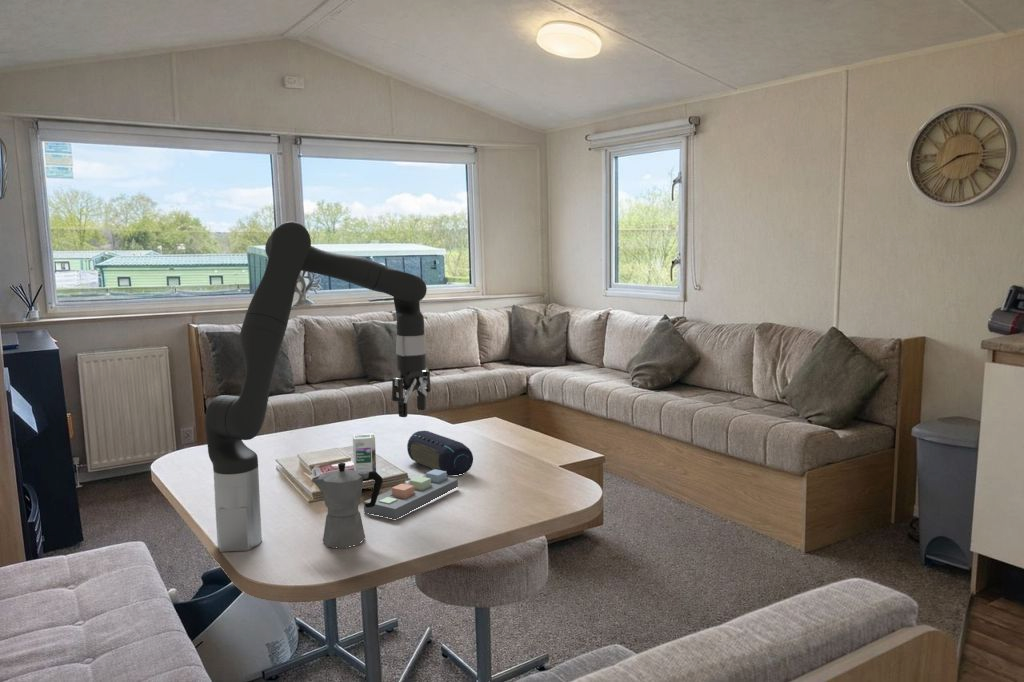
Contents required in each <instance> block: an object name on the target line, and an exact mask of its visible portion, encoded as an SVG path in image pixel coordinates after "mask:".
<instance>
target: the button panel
mask: <svg viewBox="0 0 1024 682" xmlns="http://www.w3.org/2000/svg"><path fill="white" fill-rule="evenodd" d="M421 477H426V474H424V475H421ZM405 484H407V485H409V481H408V482H406V483H405ZM456 487H458V488H459V479H457V478H452V477H448V476H447V480H444V481H442V482H440V483H434V482H431V487H429V488H427V489H425V490H423V491H420V490H415V489H414V495H412V496H410V497H407V498H405V499H402V498H398V497H394V496H392V489H390V490H388V491H385V492H383V493H379V494H378V497H377V500H376V503H375V506H374V507H369V508H367V507H366V506H365V504H367V503H370V502H371V498H369V499H366V500H364V501H363V513H364V512H365V513H369V514H374V515H379V516H383V517H388V518H392V519H397V518H399V517H401V516H403V515H405V514H407V513H409V512H410V511H412V510H414V509H416V508H418V507H420V506H422V505H424V504H426V503H428V502H430V501H431V500H433V499H435V498H437V497H439V496H441V495H443V494H445V493H447V492H448V491H450V490H452V489H454V488H456ZM365 513H364V514H365ZM369 514H368V515H369Z"/></svg>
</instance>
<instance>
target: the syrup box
mask: <svg viewBox="0 0 1024 682" xmlns="http://www.w3.org/2000/svg"><path fill="white" fill-rule="evenodd" d="M352 448H353V449H352V451H353V470H354V471H359V472H371V471H376V472H377V458H376V457H377V455H376V437H375V434H374V432H372V433H360V434H352ZM372 480H373V479H372ZM368 481H369V480H368Z"/></svg>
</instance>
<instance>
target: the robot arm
mask: <svg viewBox="0 0 1024 682" xmlns="http://www.w3.org/2000/svg"><path fill="white" fill-rule="evenodd" d="M311 239H312V238H311V235H310V232H309V231H308V229H307V228H306V226H304V225H303V224H301V223H300V222H298V221H285V222H283V223H280V224H279V225H277V226H276V227H275V228H274V229H273V231H271V234H270V235H269V237H268V238H267V240H266V243H265V250H264V251H265V253H266V256H267V258H268V259H267V263H266V266H265V271H264V272H263V275H262V278H261V280H260V282H259V284H258V286H257V287H256V290H255V292H254V294H253V295H252V298H251V301H250V303H249V305H248V308H247V310H246V313H245V316H244V319H243V322H242V326H241V330H240V332H239V333H240V334H239V343H240V349H241V353H242V356H243V360H244V365H245V377H244V383H243V387H242V389H241V392H240V394H239V396H238V395H227V394H226V395H225V394H224V395H222V394H221V395H218V396H215V397H213V399H211V401H210V402H209V404H208V405H207V407H206V412H205V416H204V417H205V418H204V419H205V420H204V421H205V422H204V426H205V434H206V435H205V436H206V445H207V454H208V457H209V459H210V461H211V464H212V468H213V469H212V470H213V485H214V486H213V487H214V503H215V505H214V506H215V522H216V524H215V525H216V539H217V548H218V549H219V552H220V553H221V552H243V551H250V550H251V549H253V548H254V547H256V546H258V545H259V544H261V542H262V540H263V537H262V536H263V535H262V519H261V517H262V516H261V514H262V513H261V500H260V499H261V496H260V495H261V494H260V474H259V473H260V472H259V459H258V458H259V457H258V454H257V453H256V452H255V451H254V450H253V449H251V448H249V447H248V446H247V445H246V444H245V443H244V441H249V440H252V439H254V438H255V437H256V436H257V435H258V434H259V433H260V431H261V429H262V427H263V425H264V422H265V418H266V414H267V408H268V402H269V397H270V391H271V388H272V387H271V386H272V381H273V377H274V372H275V368H276V364H277V360H278V357H279V354H280V351H281V350H280V349H281V347H282V344H283V341H284V338H285V334H286V331H287V328H288V323H289V319H290V314H291V310H292V305H293V302H294V297H295V292H296V286H297V283H298V279H299V276H300V273H301V271H303V272H307V273H314V274H317V275H320V276H321V275H322V276H326V277H329V278H332V279H337V280H340V281H343V282H347V283H350V284H353V285H354V286H355V285H356V286H359V287H361V288H363V289H367V290H369V291H374V292H377V293H382V294H386V295H389V296H391V297H393V303H394V309H395V314H396V340H395V348H396V351H395V352H396V353H395V355H396V371H398V372H399V373H400V375H399V377H393V378H392V381H391V382H392V383H391V384H392V385H391V386H392V387H391V388H392V389H391V390H392V391H391V400H392V402H395V403H397V407H398V410H397V412H398V416H399V418H407V417H408V400H409V397H410V396H411V395H412V394H413V393H412V392H414V391H415V393H416V395H417V396H416V409H417V410H418V411H425V410H426V405H427V404H426V400H427V399H426V397H427V396H428V393H431V388H432V387H431V376H430V375H431V374H430V370H428V369H427V370H426V368H427V366H426V365H427V353H426V338H425V317H424V315H423V313H422V311H421V308H420V307H421V306H420V305H421V304H420V301H422V300H423V299H424V298H425V297H426V294H427V284H426V283H425V280H424V279H422V278H421V277H420V276H418V275H415V274H413V273H409V272H406V271H402V270H399V269H395V268H392V267H389V266H387V265H385V264H383V263H380V262H377V261H375V260H372V259H370V258H366V257H363V256H357V255H353V254H352V255H351V254H346V253H345V254H344V253H337V252H331V251H327V250H324V249H323V250H322V249H320V248H317V247H315V246H312V240H311ZM425 384H426V385H425ZM397 393H398V394H397Z"/></svg>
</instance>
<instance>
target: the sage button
mask: <svg viewBox="0 0 1024 682" xmlns="http://www.w3.org/2000/svg"><path fill="white" fill-rule="evenodd" d="M408 482H409V485H412V486H414V489H415V490H420V491H423V490H425V489H427V488H429V487H431V478H426V477H422V475H421V476H420V475H418V476H415V477H413V478H411V479H409V481H408Z"/></svg>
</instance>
